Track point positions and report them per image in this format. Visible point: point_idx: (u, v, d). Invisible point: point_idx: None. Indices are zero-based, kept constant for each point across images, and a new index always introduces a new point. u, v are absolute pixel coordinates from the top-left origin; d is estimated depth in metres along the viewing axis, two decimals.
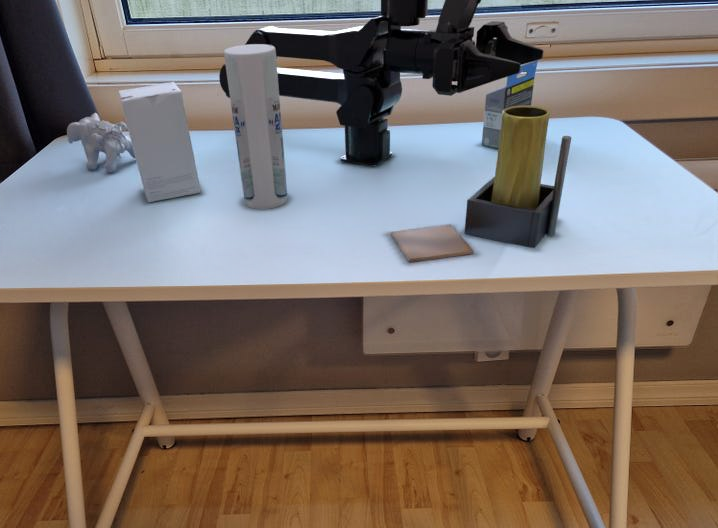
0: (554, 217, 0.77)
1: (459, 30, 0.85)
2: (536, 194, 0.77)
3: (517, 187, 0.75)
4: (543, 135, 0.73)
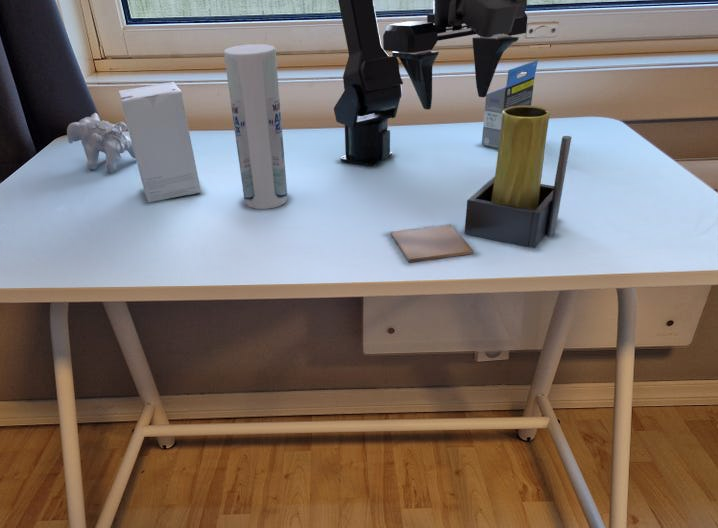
0: (554, 217, 0.77)
1: None
2: (536, 194, 0.77)
3: (517, 187, 0.75)
4: (543, 135, 0.73)
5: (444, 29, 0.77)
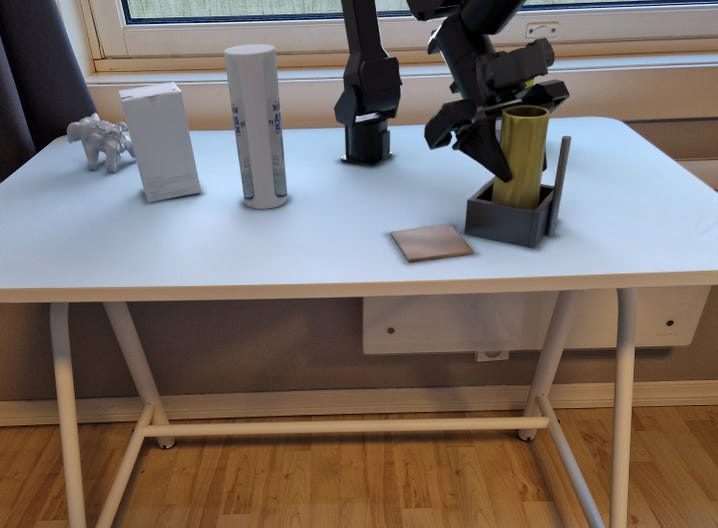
0: (554, 217, 0.77)
1: (501, 86, 0.73)
2: (536, 194, 0.77)
3: (517, 187, 0.75)
4: (543, 135, 0.73)
5: None
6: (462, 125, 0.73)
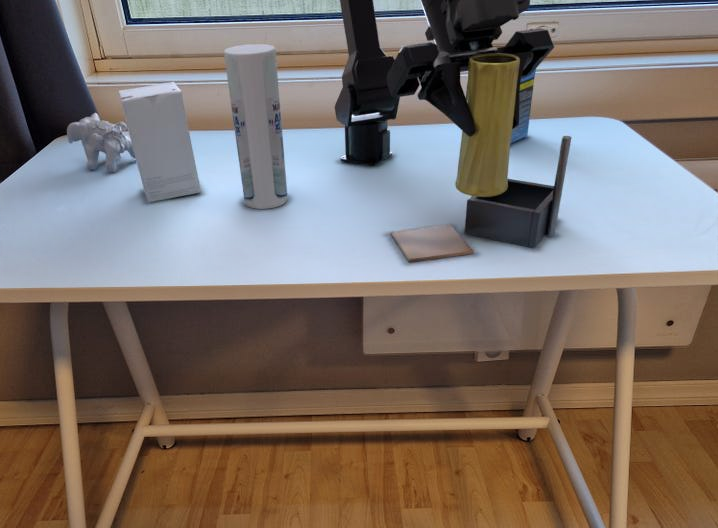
0: (554, 217, 0.77)
1: (471, 30, 0.68)
2: (505, 151, 0.71)
3: (482, 142, 0.70)
4: (510, 85, 0.67)
5: None
6: (425, 71, 0.69)
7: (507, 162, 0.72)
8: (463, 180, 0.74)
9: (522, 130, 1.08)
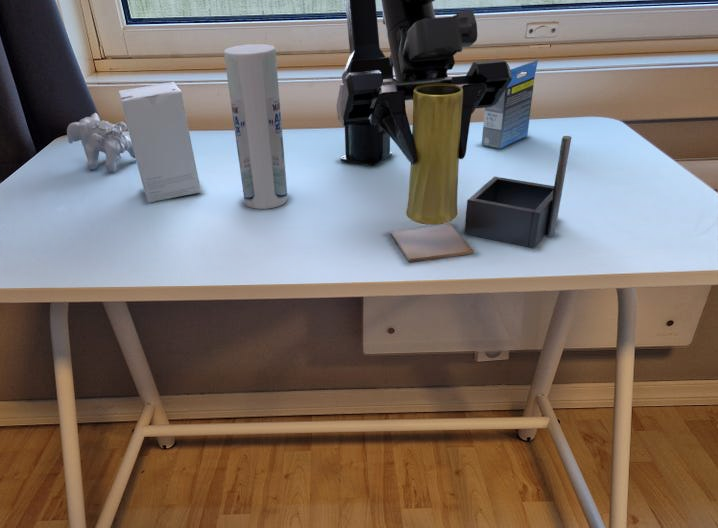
0: (554, 217, 0.77)
1: (420, 60, 0.69)
2: (448, 181, 0.71)
3: (424, 171, 0.71)
4: (450, 117, 0.67)
5: None
6: (372, 98, 0.70)
7: (453, 192, 0.72)
8: (410, 206, 0.75)
9: (522, 130, 1.08)
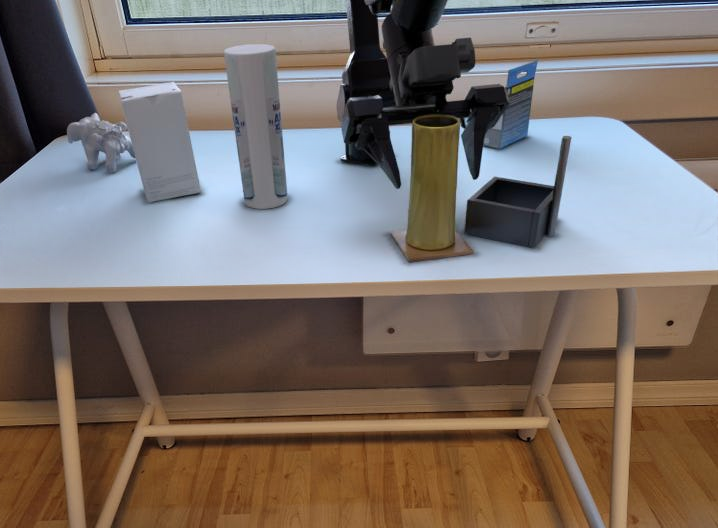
0: (554, 217, 0.77)
1: (419, 86, 0.70)
2: (446, 209, 0.73)
3: (423, 199, 0.73)
4: (448, 148, 0.69)
5: None
6: None
7: (451, 219, 0.74)
8: (409, 232, 0.77)
9: (522, 130, 1.08)
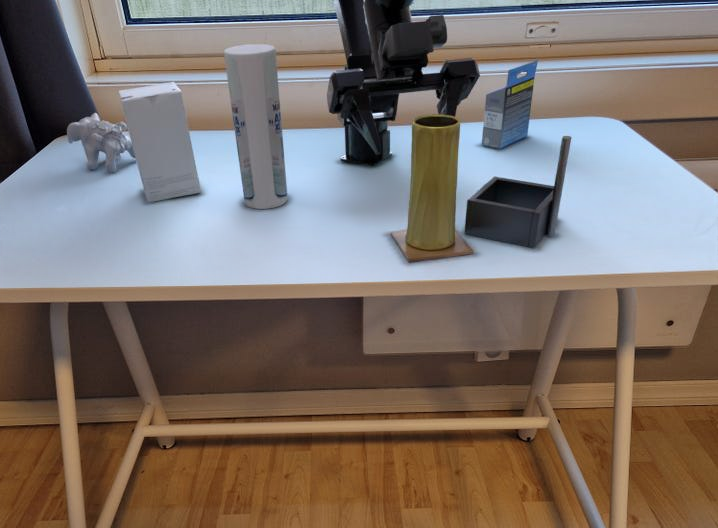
0: (554, 217, 0.77)
1: (397, 59, 0.77)
2: (446, 209, 0.73)
3: (423, 199, 0.73)
4: (448, 148, 0.69)
5: None
6: None
7: (451, 219, 0.74)
8: (409, 232, 0.77)
9: (522, 130, 1.08)
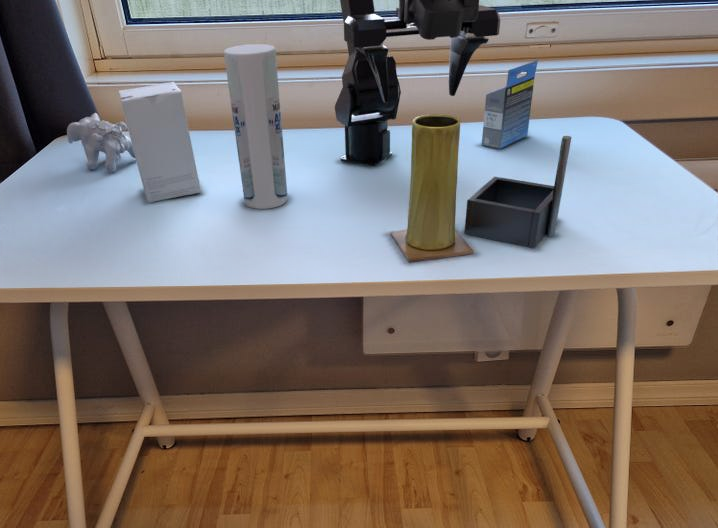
0: (554, 217, 0.77)
1: None
2: (446, 209, 0.73)
3: (423, 199, 0.73)
4: (448, 148, 0.69)
5: (404, 25, 0.78)
6: None
7: (451, 219, 0.74)
8: (409, 232, 0.77)
9: (522, 130, 1.08)
